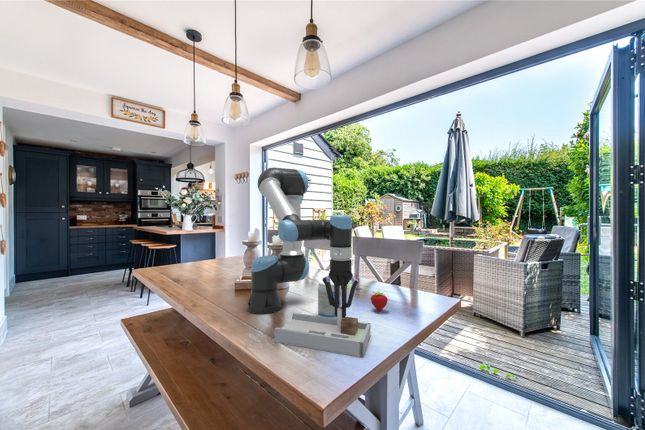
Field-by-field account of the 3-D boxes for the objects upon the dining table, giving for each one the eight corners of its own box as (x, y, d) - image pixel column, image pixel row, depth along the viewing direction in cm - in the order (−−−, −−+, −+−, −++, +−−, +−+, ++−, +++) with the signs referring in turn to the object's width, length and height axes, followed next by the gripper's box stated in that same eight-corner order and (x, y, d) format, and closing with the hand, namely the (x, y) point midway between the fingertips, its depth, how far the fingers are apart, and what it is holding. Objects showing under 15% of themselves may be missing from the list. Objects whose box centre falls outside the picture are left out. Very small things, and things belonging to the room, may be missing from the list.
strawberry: (386, 315, 115) (386, 291, 115) (368, 312, 118) (368, 289, 118) (389, 310, 120) (389, 288, 120) (372, 308, 124) (372, 286, 123)
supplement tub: (337, 322, 107) (337, 285, 107) (314, 319, 110) (314, 283, 110) (343, 314, 116) (343, 280, 116) (322, 311, 119) (322, 278, 119)
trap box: (274, 341, 91) (274, 328, 91) (293, 324, 105) (293, 312, 105) (363, 357, 81) (363, 342, 81) (370, 335, 96) (370, 323, 96)
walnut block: (340, 333, 92) (340, 321, 92) (344, 327, 97) (344, 316, 97) (354, 335, 90) (355, 323, 90) (357, 329, 95) (357, 318, 95)
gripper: (319, 259, 93) (319, 327, 93) (356, 261, 88) (356, 333, 89) (326, 256, 100) (326, 319, 100) (361, 258, 96) (360, 324, 96)
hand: (340, 326), depth 94 cm, fingers closed
